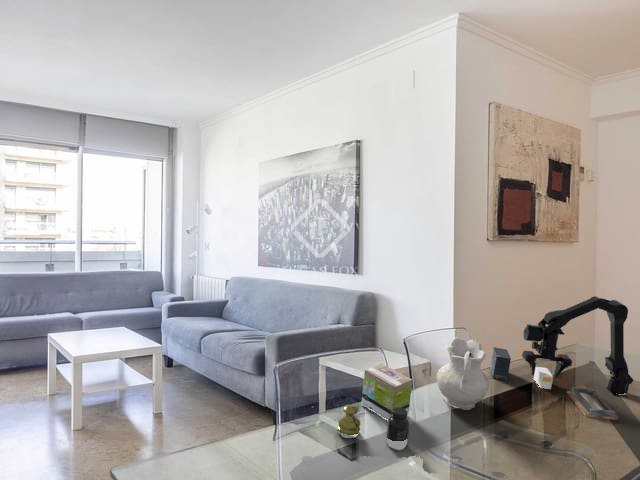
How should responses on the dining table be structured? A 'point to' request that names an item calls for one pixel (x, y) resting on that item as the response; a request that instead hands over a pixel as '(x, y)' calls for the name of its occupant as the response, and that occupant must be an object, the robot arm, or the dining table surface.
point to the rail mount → (591, 403)
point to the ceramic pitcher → (463, 374)
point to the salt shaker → (349, 421)
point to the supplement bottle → (398, 425)
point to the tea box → (386, 390)
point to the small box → (500, 363)
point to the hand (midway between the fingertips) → (543, 376)
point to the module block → (543, 377)
